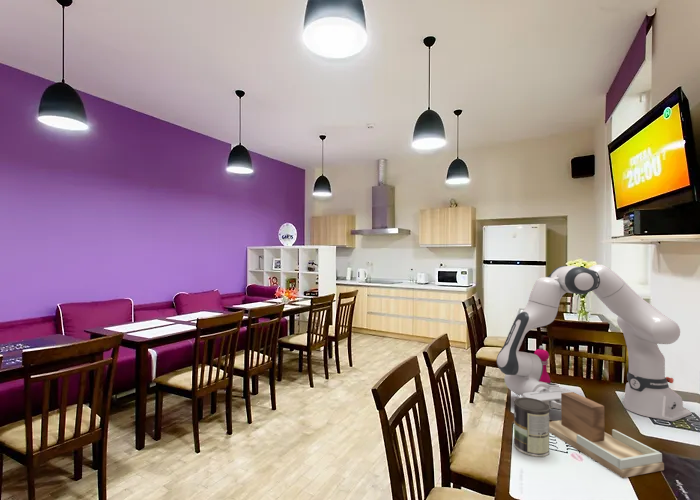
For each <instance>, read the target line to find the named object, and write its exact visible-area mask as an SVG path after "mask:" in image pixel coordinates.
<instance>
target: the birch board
mask: <svg viewBox="0 0 700 500" xmlns="http://www.w3.org/2000/svg"><path fill="white" fill-rule="evenodd" d="M549 434H551V435H553V436H555V437H557V438H558V439H560V440H561V441H563V442H565V443H566V444H568V445H569V446H571V447H573V448H574V449H576V450H578V451H579V452H581V453H582V454H584V455H585V456H587V457H589V458H590V459H592V460H593V461H595V462H596V463H598V464H599V465H602V466H603V467H605V468H606V469H608V470H610V471H611V472H613V473H614V474H616V475H618V476H619V477H621V478H622V479H624V478H625V479H626V478H629V477H636V476H639V475H645V474H650V473H656V472H660V471H662V472H663V471H664V470H665V463H664V462H663V461H662V462H660V463H655V464H649V465H644V466H638V467H633V468H627V469H622V470H621V469H619V468H618V467H616V466H614V465H613V464H611V463H609V462H608V461H606V460H604V459H603V458H601V457H599V456H598V455H596V454H594V453H593V452H591V451H589V450H588V449H586V448H584V447H583V446H581V445H580V444H578V443H577V435H578V434H577V433H575V432H573V431H571V430H570V429H568V428H566V427H564V426H563V425H561V419H559V420H552V421H550V420H549ZM593 443H594V444H596V445H598V446H599V447H601V448H603V449H605V450H606V451H608V452H610V453H612V454H613V455H615V456H617V457H619V458H620V459H621V458H627V457H633V456H639V455H644V454H643V453H641V452H639V451H637V450H635V449H633V448H631V447H630V446H628V445H626V444H624V443H622V442H620V441H618V440H616V439H614V438H613V437H612V434H610V433H607V432H605V431H604V441H597V442H593Z"/></svg>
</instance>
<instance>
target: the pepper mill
mask: <svg viewBox="0 0 700 500" xmlns="http://www.w3.org/2000/svg"><path fill="white" fill-rule="evenodd" d="M533 354H536V355H537V356H538V357H539V358H540V359H541V361H542V363H543V372H542V375H541V378H540V380H539V382H540V381H541V382H545V383H552V381H551V377H550V375H549V372H548V370H547V369H548V368H547V366H548V364H549V363H548V361H549V360H548V359H549V358H550V354H549V352H548V351H547V350H546V349H544V346H543V345H539V347H538V348H537V349H535V350H534V352H533Z"/></svg>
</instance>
